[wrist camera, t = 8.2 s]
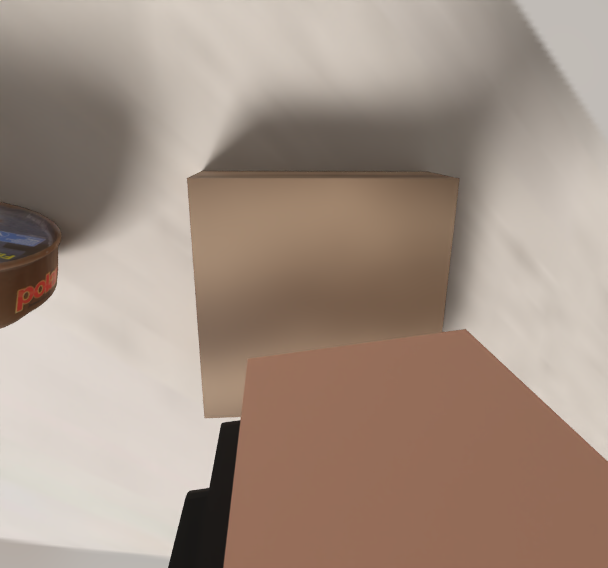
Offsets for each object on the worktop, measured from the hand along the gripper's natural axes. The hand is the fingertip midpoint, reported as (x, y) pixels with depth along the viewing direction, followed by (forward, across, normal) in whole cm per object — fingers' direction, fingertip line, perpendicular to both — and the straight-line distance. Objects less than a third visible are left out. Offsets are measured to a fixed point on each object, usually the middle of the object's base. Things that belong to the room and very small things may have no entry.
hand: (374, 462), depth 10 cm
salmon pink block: (+1, 0, 0) cm, 1 cm away
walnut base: (+13, 0, -1) cm, 13 cm away
